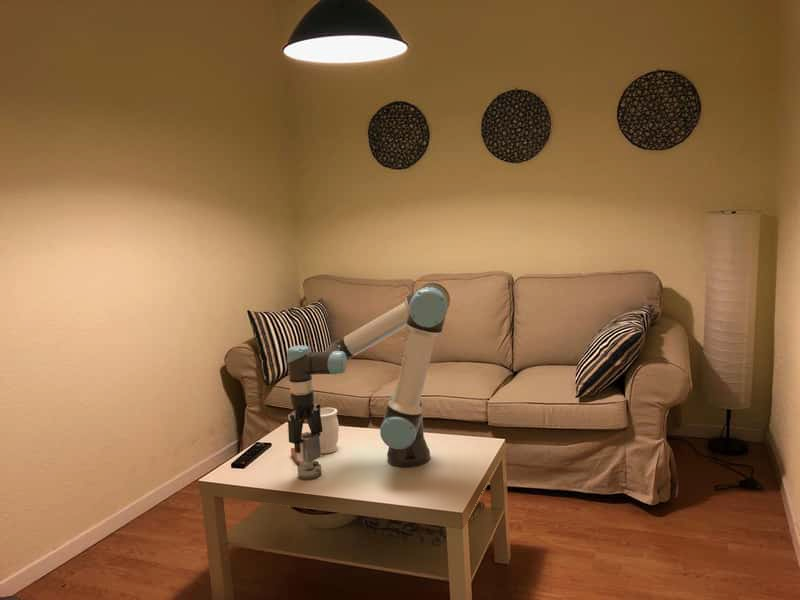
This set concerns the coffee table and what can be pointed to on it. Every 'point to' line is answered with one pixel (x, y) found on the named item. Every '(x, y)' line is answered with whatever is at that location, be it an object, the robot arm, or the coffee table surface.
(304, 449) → the grey block
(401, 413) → the robot arm
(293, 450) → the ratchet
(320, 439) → the jar
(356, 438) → the coffee table surface
